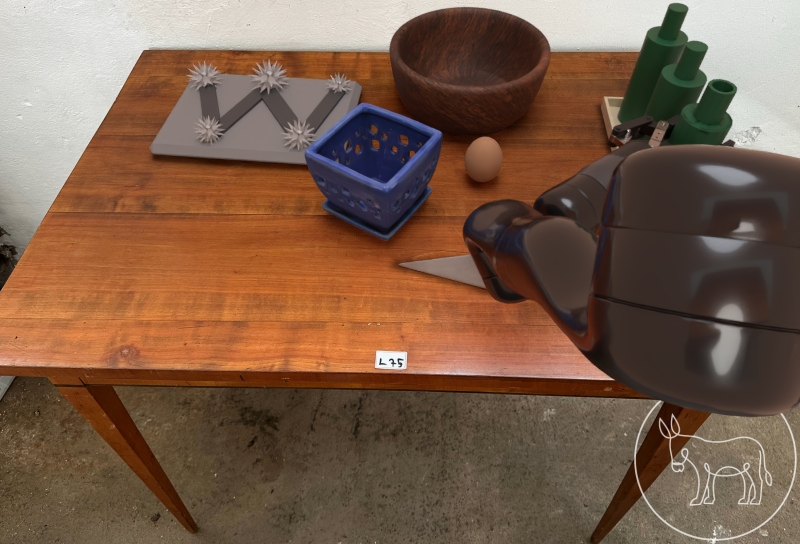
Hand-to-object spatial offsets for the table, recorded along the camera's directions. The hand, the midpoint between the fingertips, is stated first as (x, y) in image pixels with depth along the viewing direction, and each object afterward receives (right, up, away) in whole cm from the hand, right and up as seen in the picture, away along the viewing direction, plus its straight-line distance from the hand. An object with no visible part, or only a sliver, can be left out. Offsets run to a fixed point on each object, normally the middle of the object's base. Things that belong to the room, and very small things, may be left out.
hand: (706, 133), depth 67 cm
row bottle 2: (-1, 0, +14) cm, 14 cm away
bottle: (-2, -8, +7) cm, 11 cm away
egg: (-26, -3, +13) cm, 29 cm away
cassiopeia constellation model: (-61, +7, +22) cm, 65 cm away
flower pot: (-41, -8, +9) cm, 43 cm away
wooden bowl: (-27, +12, +25) cm, 39 cm away
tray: (-1, -1, +15) cm, 15 cm away
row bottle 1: (0, +8, +20) cm, 22 cm away
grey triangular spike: (-31, -18, +1) cm, 36 cm away
